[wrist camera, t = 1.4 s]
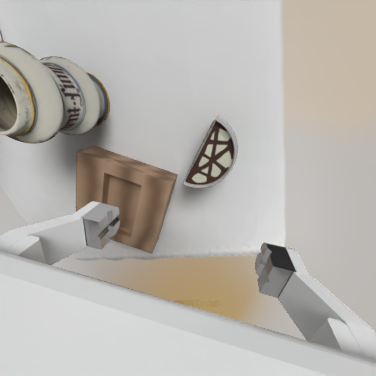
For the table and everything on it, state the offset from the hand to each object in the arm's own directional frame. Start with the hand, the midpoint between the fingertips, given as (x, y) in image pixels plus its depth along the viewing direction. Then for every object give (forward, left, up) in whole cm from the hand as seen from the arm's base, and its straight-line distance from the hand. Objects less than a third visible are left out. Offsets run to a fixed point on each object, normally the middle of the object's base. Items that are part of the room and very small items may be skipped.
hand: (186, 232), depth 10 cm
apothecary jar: (-26, 0, -29) cm, 39 cm away
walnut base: (-14, -19, -29) cm, 37 cm away
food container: (+2, -1, -29) cm, 29 cm away
